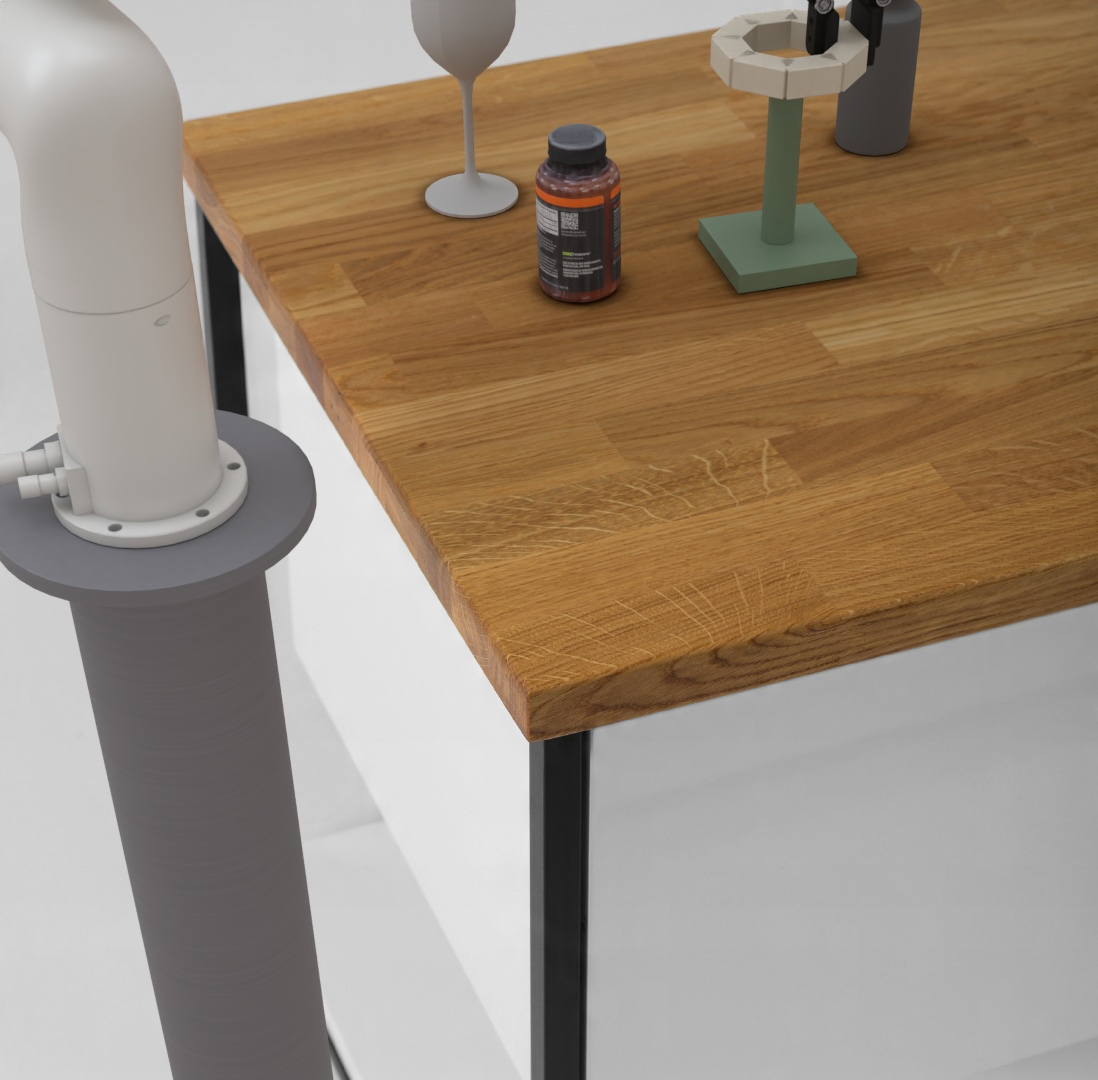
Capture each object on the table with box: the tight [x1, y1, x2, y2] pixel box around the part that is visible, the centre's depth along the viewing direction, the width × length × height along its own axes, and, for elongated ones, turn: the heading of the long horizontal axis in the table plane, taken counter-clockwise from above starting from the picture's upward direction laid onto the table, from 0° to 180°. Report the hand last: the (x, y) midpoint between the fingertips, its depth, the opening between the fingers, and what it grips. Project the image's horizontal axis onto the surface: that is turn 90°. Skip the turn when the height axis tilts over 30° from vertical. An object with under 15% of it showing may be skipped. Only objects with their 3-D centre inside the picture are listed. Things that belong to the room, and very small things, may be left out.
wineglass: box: [410, 0, 519, 219], centre depth 150 cm, size 8×8×21 cm
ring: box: [709, 8, 869, 100], centre depth 140 cm, size 10×10×2 cm
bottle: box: [834, 0, 923, 156], centre depth 159 cm, size 6×6×15 cm
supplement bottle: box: [535, 123, 622, 303], centre depth 143 cm, size 6×6×11 cm
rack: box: [697, 97, 858, 294], centre depth 145 cm, size 9×9×14 cm
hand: (841, 58), depth 141 cm, fingers closed on ring, 2 cm apart
